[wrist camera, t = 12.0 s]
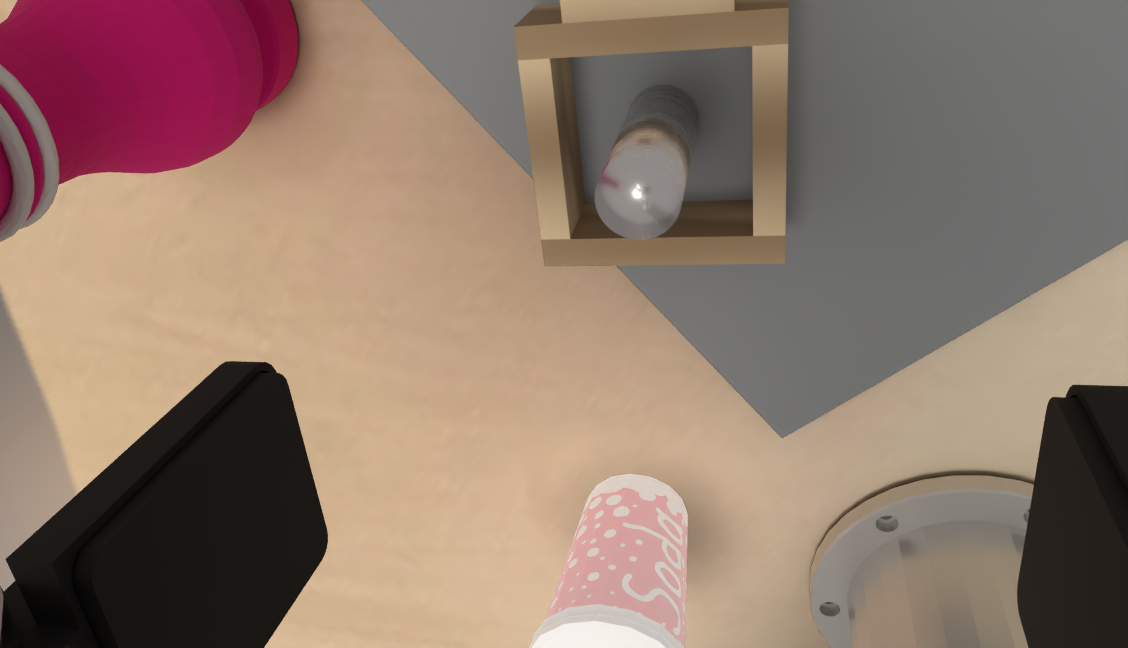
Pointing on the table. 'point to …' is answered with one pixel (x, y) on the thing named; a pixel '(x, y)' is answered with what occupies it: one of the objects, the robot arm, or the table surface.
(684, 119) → the grey rounded rod
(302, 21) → the table surface
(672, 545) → the beverage cup
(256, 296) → the table surface
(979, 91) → the board
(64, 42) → the pepper mill
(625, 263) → the link
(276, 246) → the table surface
